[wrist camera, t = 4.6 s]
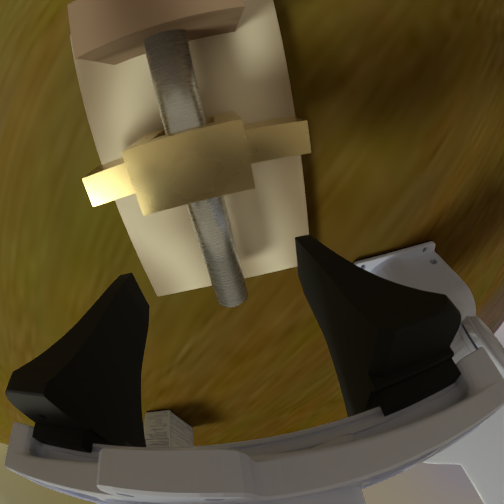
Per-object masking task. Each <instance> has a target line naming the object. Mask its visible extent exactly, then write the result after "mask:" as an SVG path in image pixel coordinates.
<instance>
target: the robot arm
mask: <svg viewBox="0 0 504 504" xmlns="http://www.w3.org/2000/svg"><path fill="white" fill-rule="evenodd" d="M295 245H296V255H297V265H298V276H299V279H300V282H301V285H302V288H303V291H304V294H305V296H306V298H307V300H308V303H309V305H310V307H311V309H312V311H313V313H314V315H315V317H316V319H317V322H318V324H319V326H320V328H321V330H322V332H323V334H324V337H325V339H326V342H327V345H328V348H329V351H330V354H331V357H332V360H333V363H334V366H335V370H336V373H337V376H338V380H339V383H340V387H341V391H342V394H343V398H344V402H345V406H346V410H347V414H348V417H347V418H344V419H341V420H338V421H335V422H331V423H328V424H324V425H321V426H317V427H313V428H309V429H305V430H301V431H297V432H292V433H288V434H283V435H278V436H273V437H268V438H262V439H256V440H250V441H243V442H235V443H227V444H218V445H207V446H192V447H146V442H145V436H144V430H143V421H142V410H141V370H142V362H143V356H144V349H145V344H146V338H147V332H148V325H149V305H148V303H147V301H146V299H145V297H144V296H143V294H142V292H141V290H140V288H139V286H138V284H137V282H136V280H135V278H134V276H133V274H132V273H129V274H124V275H120V276H119V277H118V278H117V279H116V280H115V281H114V282H113V283H112V284H111V285H110V286H109V288H108V289H107V290H106V291H105V292H104V293H103V294H102V296H101V297H100V298H99V299H98V300H97V301H96V303H95V304H94V305H93V306H92V307H91V308H90V309H89V310H88V312H87V313H86V314H85V315H84V316H83V317H82V318H81V319H80V320H79V321H78V323H77V324H76V325H75V326H74V327H73V328H72V329H71V330H69V331H68V332H67V333H66V334H65V335H64V336H63V337H62V338H61V339H60V340H58V341H57V342H56V343H55V344H54V345H52V346H51V347H50V348H49V349H48V350H46V351H45V352H43V353H42V354H41V355H39V356H38V357H36V358H35V359H34V360H32V361H30V362H29V363H27V364H25V365H24V366H22V367H20V368H19V369H17V370H15V371H14V372H13V373H12V375H11V378H10V380H9V383H8V386H7V389H6V396H7V398H8V400H9V401H10V402H11V403H12V404H13V405H14V406H15V407H16V408H17V409H19V410H20V411H21V412H22V413H24V414H25V415H26V416H27V417H29V418H30V419H31V420H33V421H34V422H35V426H34V428H33V427H31V426H29V425H26V424H22V423H18V422H14V424H13V428H12V432H11V437H10V441H9V446H8V450H7V456H6V461H5V467H6V468H8V469H9V470H11V471H13V472H15V473H17V474H19V475H21V476H23V477H25V478H27V479H29V480H31V481H33V482H35V483H37V484H39V485H42V486H44V487H47V488H50V489H52V490H55V491H58V492H61V493H63V494H67V495H70V496H73V497H76V498H79V499H83V500H86V501H90V502H94V503H98V504H366V503H365V500H364V496H363V493H362V489H363V488H366V487H369V486H371V485H373V484H376V483H379V482H381V481H383V480H386V479H388V478H391V477H393V476H395V475H397V474H399V473H402V472H404V471H406V470H408V469H410V468H412V467H413V466H416V465H418V464H420V463H421V462H424V463H430V464H459V465H461V466H462V468H463V470H464V471H465V473H466V474H467V476H468V478H469V479H470V481H471V483H472V484H473V486H474V488H475V489H476V491H477V492H478V494H479V496H480V498H481V499H482V501H483V503H484V504H504V348H503V346H502V345H501V344H500V342H499V341H498V339H497V338H496V337H495V336H494V334H493V333H492V332H491V330H490V329H489V328H488V327H487V326H486V325H485V323H484V322H483V321H482V320H481V319H480V318H479V317H477V316H476V307H475V302H474V298H473V295H472V293H471V291H470V289H469V288H468V286H467V285H466V284H465V282H464V281H463V280H462V279H461V278H460V277H459V276H458V275H457V274H456V273H455V272H454V271H453V270H452V269H451V268H450V266H449V265H448V264H447V263H446V262H445V261H444V260H443V259H442V258H441V257H440V256H439V255H438V254H437V253H436V252H435V251H434V250H435V243H434V242H433V241H430V242H427V243H423V244H420V245H416V246H412V247H409V248H405V249H402V250H398V251H394V252H391V253H387V254H383V255H380V256H376V257H372V258H368V259H364V260H361V261H357V262H355V263H354V264H353V263H351V262H349V261H348V260H346V259H344V258H343V257H341V256H339V255H338V254H336V253H335V252H333V251H332V250H330V249H329V248H327V247H326V246H325V245H323V244H322V243H320V242H319V241H317V240H316V239H315V238H313V237H312V236H310V235H309V234H308V235H303V236H299V237H295ZM362 265H363V266H362ZM361 266H362V267H361Z"/></svg>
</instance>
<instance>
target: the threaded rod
mask: <svg viewBox="0 0 504 504" xmlns="http://www.w3.org/2000/svg"><path fill="white" fill-rule="evenodd" d="M143 43H144V47H145V52H146V57H147V61H148V66H149V70H150V74H151V79H152V83H153V87H154V91H155V95H156V99H157V103H158V107H159V111H160V115H161V119H162V123H163V127H164V131H165V134H166V135H167V134H170V133H174V132H177V131H181V130H185V129H188V128H192V127H196V126H200V125H204V124H206V120H205V115H204V111H203V107H202V102H201V98H200V93H199V89H198V85H197V80H196V76H195V71H194V67H193V62H192V58H191V53H190V49H189V44H188V39H187V35H186V30H184V29H174V30H168V31H164V32H160V33H157V34H155V35H152V36H150V37H148V38H147V39H145V40H144V41H143ZM186 207H187V210H188V214H189V217H190V220H191V223H192V226H193V229H194V232H195V236H196V239H197V242H198V245H199V248H200V251H201V254H202V257H203V260H204V263H205V266H206V269H207V272H208V274H209V277H210V280H211V283H212V286H213V289H214V292H215V295H216V297H217V300H218V302H219V304H220V305H222V306H224V307H235V306H238V305H240V304H242V303H243V302H244V301H245V300H246V299H247V296H248V292H247V288H246V284H245V280H244V276H243V272H242V268H241V264H240V260H239V256H238V252H237V248H236V244H235V240H234V236H233V232H232V228H231V224H230V220H229V216H228V212H227V208H226V204H225V200H224V196H219V197H215V198H210V199H206V200H202V201H198V202H194V203H190V204H186Z"/></svg>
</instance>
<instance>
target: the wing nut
mask: <svg viewBox="0 0 504 504" xmlns="http://www.w3.org/2000/svg"><path fill="white" fill-rule="evenodd" d="M205 120H206V124H204V125H200V126H196V127H192V128H188V129H185V130H181V131H177V132H174V133H170V134H167V135H166V134H165V131H164V128H163V129H160V130H157V131H154V132H150V133H148V134H146V135H145V136H143V137H142V138H140V139H139V140H137V141H136V142H135V143H133V144H132V145H130V146H129V147H128V148H126V149H125V150H124V151H122V156H123V157H122V158H119V159H116V160H113V161H111V162H108V163H105V164H103V165H100V166H98V167H96V168H95V169H94V170H92V171H91V172H90V173H89V174H87V175H86V176H85V177H84V178H83V179H82V180H83V183H84V185H85V188H86V191H87V193H88V196H89V198H90V201H91V203H92V206H93V207H95V206H98V205H101V204H104V203H107V202H110V201H113V200H116V199H119V198H122V197H125V196H128V195H132V194H136V197H137V200H138V203H139V205H140V208H141V211H142V213H143V216H145V215H148V214H152V213H156V212H159V211H163V210H167V209H170V208H174V207H178V206H182V205H186V204H190V203H194V202H198V201H202V200H206V199H210V198H215V197H219V196H223V195H227V194H232V193H236V192H241V191H245V190H250V189H255V182H254V177H253V172H252V167H251V164H252V163H257V162H262V161H268V160H273V159H278V158H284V157H290V156H296V155H302V154H308V153H311V145H310V137H309V129H308V122H307V120H305V119H302V118H299V117H296V116H289V117H283V118H276V119H270V120H264V121H258V122H253V123H247V124H243V121H242V118H241V117H239V116H238V115H237V114H236V113H235V112H234V111H231V112H226V113H221V114H217V115H212V116H208V117H205Z"/></svg>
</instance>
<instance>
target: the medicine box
mask: <svg viewBox="0 0 504 504" xmlns="http://www.w3.org/2000/svg"><path fill="white" fill-rule="evenodd" d="M144 436H145V442H146V447H192V446H194V445H193V444H194V443H193V428H192V427H191V426H190V425H188V424H187V423H185V422H184V421H183V420H181V419H180V418H179V417H177V416H176V415H175V414H174V413H172V412H171V411H170V410H163V411H154V412H147V413H145V430H144Z"/></svg>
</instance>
